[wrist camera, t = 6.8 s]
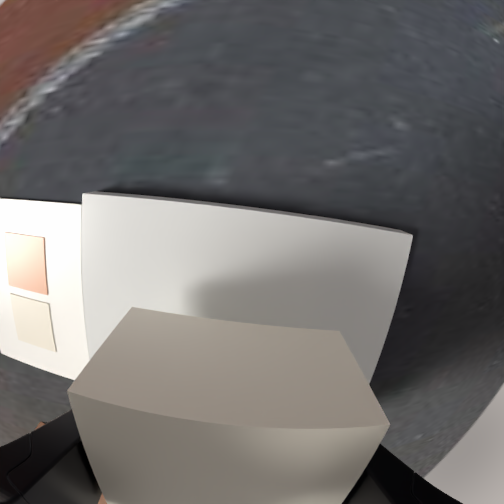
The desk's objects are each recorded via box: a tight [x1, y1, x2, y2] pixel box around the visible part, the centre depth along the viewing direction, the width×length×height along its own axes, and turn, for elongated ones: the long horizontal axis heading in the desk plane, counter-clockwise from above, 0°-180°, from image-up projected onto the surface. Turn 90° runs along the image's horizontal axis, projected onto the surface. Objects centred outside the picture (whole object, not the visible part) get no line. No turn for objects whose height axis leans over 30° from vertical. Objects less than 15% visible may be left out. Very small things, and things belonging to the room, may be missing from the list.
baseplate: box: [81, 191, 413, 384], centre depth 11 cm, size 11×11×1 cm
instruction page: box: [0, 198, 90, 380], centre depth 11 cm, size 8×6×1 cm
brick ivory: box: [67, 307, 390, 504], centre depth 7 cm, size 6×6×4 cm
